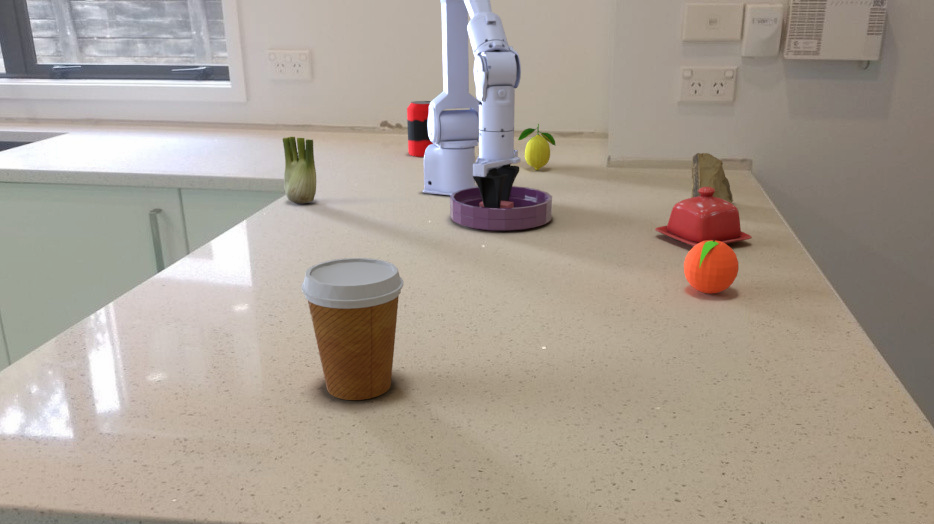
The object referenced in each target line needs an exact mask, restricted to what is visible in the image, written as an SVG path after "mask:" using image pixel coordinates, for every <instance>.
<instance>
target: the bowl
mask: <svg viewBox="0 0 934 524" xmlns="http://www.w3.org/2000/svg"><path fill="white" fill-rule="evenodd" d="M482 201H483V200H482V196H481V193H480V190H479V188H478V187H472V188H467V189H463V190H459V191H457V192H454V193H452V195H450V196H449V217H450V219H451V221H453V222H454V223H456V224H458V225H461V226H464V227H468V228H471V229H476V230H481V231H491V232H513V231H514V232H515V231H522V230H523V231H525V230H530V229H533V228H538V227H540V226H543V225H546V224H547V223H549V222H550V221H552V213H553V195H551V194H550V193H549V192H547V191H544V190H541V189H538V188H533V187H528V186H518V185H517V186H516V185H513V186H512V189H511V193H510V197H509V202H514V204H513V208H487V207H479V203H480V202H482Z"/></svg>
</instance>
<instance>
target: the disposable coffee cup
mask: <svg viewBox="0 0 934 524" xmlns="http://www.w3.org/2000/svg"><path fill="white" fill-rule="evenodd" d="M403 287H404V279H403V277H401V276H400V272H399V268H398V267H397V266H396V265H395V264H394V263H393V262H390V261H387V260H383V259H379V258H373V257H344V258H336V259H330V260H325V261H321V262H319V263H316V264H314V265H312V266H310V267H308V268H307V269H306V271H305V273H304V280H303V282H302V283H301V285H300V290H301V292H302V294H303V295H304V297H305V300H307V303H308V308H309V314H310V317H311V318H310V319H311V322H312V328H313V332H314V335H315V340H316V345H317V350H318V355H319V358H320V363H321V368H322V373H323V377H324V381H325V386H326V390H327V392H328V394H329V395H331V396H332V397H334V398H337V399H341V400H347V401H361V400H362V401H364V400H369V399H373V398H377V397H379V396H381V395H383V394H385V393H386V392H388V391H389V390H390V388H391V386H392V376H393V375H392V374H393V366H394V364H393V363H394V356H395V355H394V354H395V353H394V352H395V342H396V333H397V332H396V331H397V320H398V317H397V316H398V308H399V296H400V294H401V293H402V289H403Z"/></svg>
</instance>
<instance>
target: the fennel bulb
mask: <svg viewBox="0 0 934 524" xmlns="http://www.w3.org/2000/svg"><path fill="white" fill-rule="evenodd" d="M282 143H283V145H282V146H283V153H284V174H283V182H284V183H283V185H284V193H285V196H286V198H287V199H288V201H290V202H292V203H294V204H300V205H301V204H307V203H312V202H314V200H315V196H316V193H317V169H316V163H315V154H314V139H312V138H305V137H297V138H296V137H295V136H286V137H285V136H284V137H283V138H282Z"/></svg>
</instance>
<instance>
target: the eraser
mask: <svg viewBox="0 0 934 524" xmlns="http://www.w3.org/2000/svg"><path fill="white" fill-rule="evenodd" d="M513 204H514V202H509V201H501V204H500V208H513ZM479 207H484V205H483V201H482V202H480V203H479Z"/></svg>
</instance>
